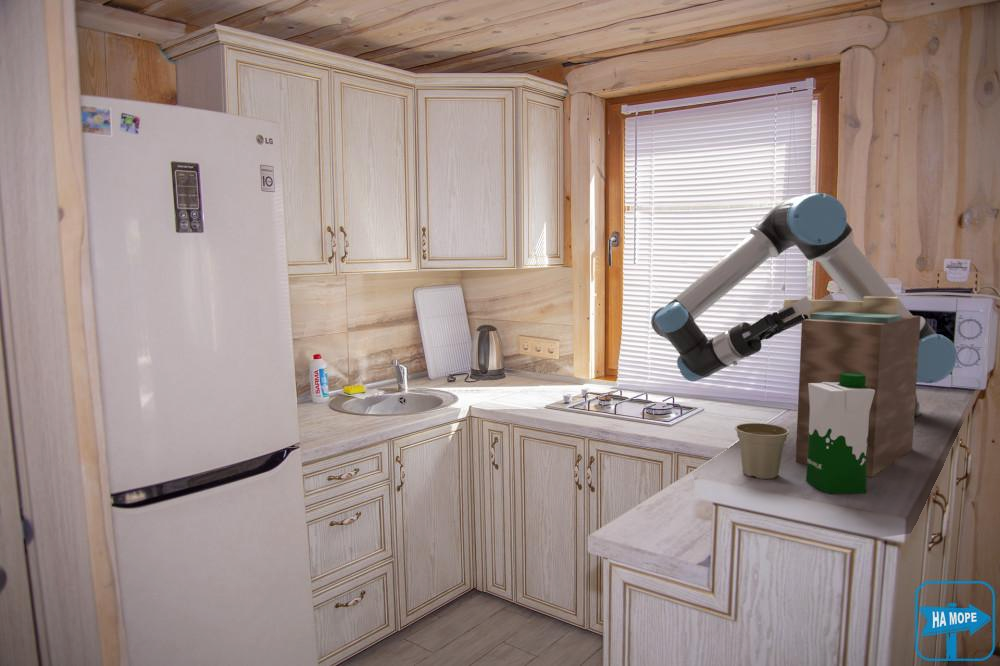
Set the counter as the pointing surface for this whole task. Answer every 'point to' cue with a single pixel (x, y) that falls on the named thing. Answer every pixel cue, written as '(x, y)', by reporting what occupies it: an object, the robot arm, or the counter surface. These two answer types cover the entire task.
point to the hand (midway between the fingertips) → (821, 300)
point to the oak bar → (853, 305)
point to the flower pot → (761, 448)
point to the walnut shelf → (881, 357)
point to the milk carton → (839, 434)
